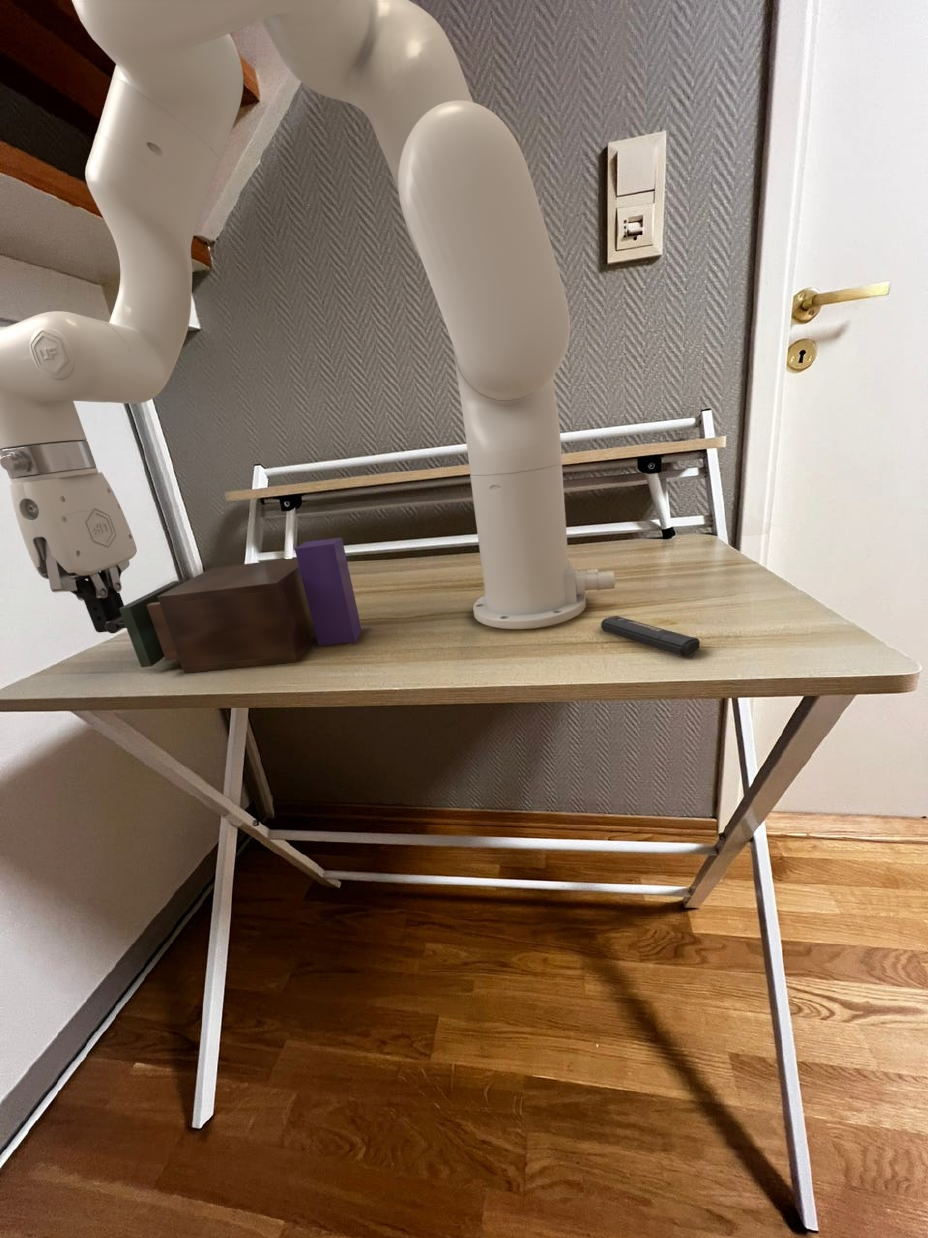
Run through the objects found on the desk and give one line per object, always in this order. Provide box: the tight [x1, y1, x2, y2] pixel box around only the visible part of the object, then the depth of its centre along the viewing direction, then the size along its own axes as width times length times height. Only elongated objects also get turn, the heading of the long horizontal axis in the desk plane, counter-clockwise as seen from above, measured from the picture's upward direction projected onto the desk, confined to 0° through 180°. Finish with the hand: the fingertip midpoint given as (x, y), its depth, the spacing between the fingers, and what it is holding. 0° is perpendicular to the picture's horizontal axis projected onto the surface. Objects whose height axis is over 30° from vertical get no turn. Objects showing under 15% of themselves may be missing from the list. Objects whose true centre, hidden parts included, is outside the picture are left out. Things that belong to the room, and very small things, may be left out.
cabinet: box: [158, 557, 317, 674], centre depth 60 cm, size 13×11×9 cm
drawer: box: [105, 579, 184, 668], centre depth 60 cm, size 15×10×7 cm, turn 87°
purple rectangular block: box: [294, 537, 363, 647], centre depth 58 cm, size 4×3×11 cm
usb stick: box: [600, 615, 701, 658], centre depth 48 cm, size 10×3×2 cm, turn 33°
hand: (113, 628), depth 61 cm, fingers closed
